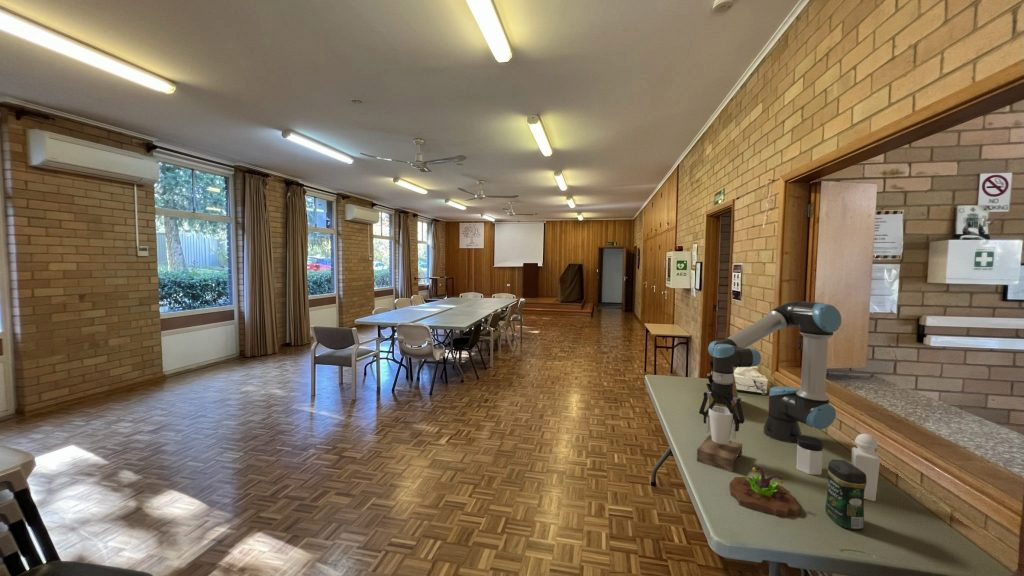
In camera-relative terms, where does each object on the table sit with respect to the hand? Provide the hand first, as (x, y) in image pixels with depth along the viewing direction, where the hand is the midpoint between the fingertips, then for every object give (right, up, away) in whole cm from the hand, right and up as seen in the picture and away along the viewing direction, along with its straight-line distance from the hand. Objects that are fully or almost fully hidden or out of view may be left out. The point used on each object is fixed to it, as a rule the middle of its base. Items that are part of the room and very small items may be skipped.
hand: (720, 434), depth 165 cm
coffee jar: (+18, -13, -40) cm, 45 cm away
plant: (0, -12, -27) cm, 30 cm away
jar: (+30, -11, -8) cm, 33 cm away
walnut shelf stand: (0, -10, +1) cm, 10 cm away
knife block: (+33, -7, +60) cm, 69 cm away
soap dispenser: (+37, -12, -26) cm, 46 cm away
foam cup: (0, -3, 0) cm, 3 cm away
